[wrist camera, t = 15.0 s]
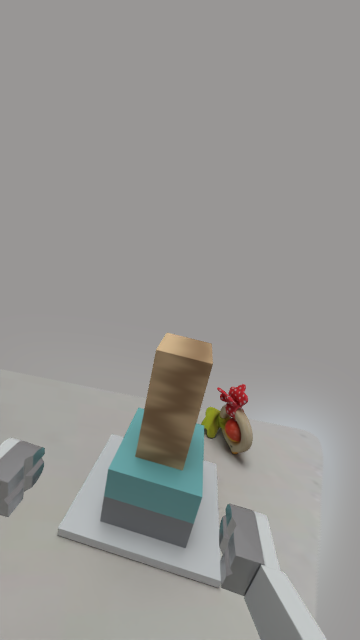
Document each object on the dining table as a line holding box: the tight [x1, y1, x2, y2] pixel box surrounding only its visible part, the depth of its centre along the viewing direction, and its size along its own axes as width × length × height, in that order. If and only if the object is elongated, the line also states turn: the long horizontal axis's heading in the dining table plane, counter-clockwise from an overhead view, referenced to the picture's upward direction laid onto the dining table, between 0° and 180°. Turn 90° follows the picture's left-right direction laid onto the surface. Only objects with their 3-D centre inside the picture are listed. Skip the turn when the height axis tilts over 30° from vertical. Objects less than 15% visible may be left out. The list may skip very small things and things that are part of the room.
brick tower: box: [58, 408, 221, 588], centre depth 25 cm, size 16×12×8 cm
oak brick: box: [135, 333, 213, 471], centre depth 22 cm, size 5×5×12 cm
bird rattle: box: [201, 384, 253, 454], centre depth 35 cm, size 6×11×9 cm
